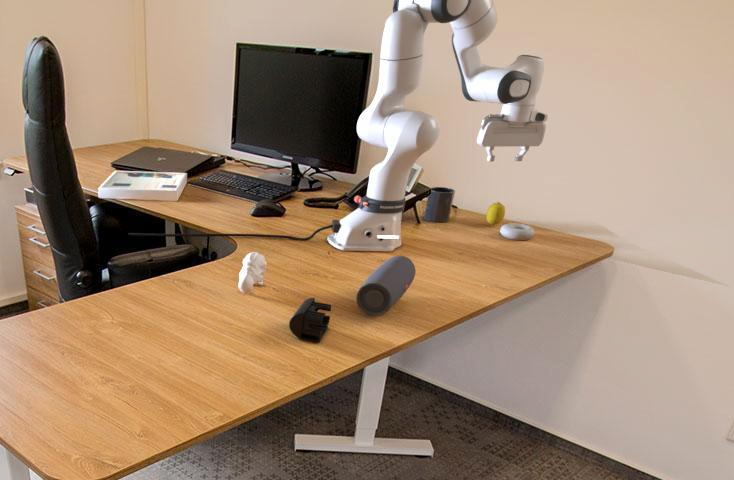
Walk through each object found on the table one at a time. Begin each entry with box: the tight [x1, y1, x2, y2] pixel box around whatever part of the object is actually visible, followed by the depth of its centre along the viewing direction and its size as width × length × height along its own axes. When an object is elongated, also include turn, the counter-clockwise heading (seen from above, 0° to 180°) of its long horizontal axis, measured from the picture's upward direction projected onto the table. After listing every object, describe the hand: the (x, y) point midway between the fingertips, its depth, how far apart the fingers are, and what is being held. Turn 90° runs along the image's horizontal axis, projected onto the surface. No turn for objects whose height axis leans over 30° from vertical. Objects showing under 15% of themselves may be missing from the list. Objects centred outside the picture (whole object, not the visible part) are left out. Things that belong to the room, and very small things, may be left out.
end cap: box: [288, 297, 332, 344], centre depth 156 cm, size 10×7×7 cm
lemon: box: [485, 201, 506, 227], centre depth 227 cm, size 6×6×8 cm
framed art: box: [97, 170, 188, 202], centre depth 273 cm, size 30×4×30 cm
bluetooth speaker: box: [355, 255, 416, 317], centre depth 169 cm, size 23×9×10 cm, turn 148°
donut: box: [499, 222, 536, 241], centre depth 218 cm, size 10×4×10 cm
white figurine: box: [237, 251, 268, 295], centre depth 180 cm, size 6×8×12 cm
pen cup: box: [423, 186, 456, 224], centre depth 234 cm, size 8×8×10 cm
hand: (504, 161), depth 217 cm, fingers open, 8 cm apart
